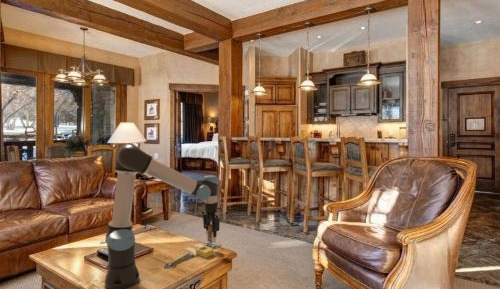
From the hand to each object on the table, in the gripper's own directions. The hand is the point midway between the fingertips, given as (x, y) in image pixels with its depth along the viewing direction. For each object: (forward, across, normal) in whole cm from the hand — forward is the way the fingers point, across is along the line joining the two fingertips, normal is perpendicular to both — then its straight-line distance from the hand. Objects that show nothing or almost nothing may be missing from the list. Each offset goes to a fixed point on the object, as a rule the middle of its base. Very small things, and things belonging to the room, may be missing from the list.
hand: (211, 241), depth 180 cm
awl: (0, 0, 0) cm, 0 cm away
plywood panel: (+6, +4, +5) cm, 9 cm away
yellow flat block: (+5, -2, +7) cm, 9 cm away
